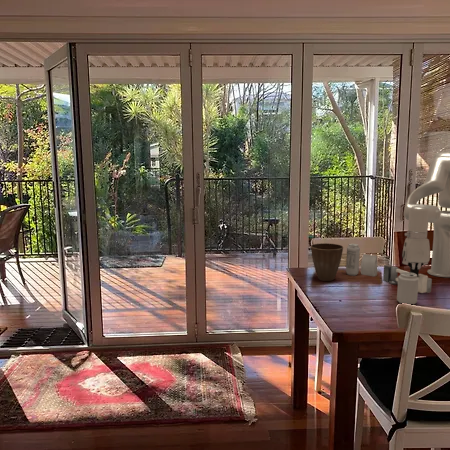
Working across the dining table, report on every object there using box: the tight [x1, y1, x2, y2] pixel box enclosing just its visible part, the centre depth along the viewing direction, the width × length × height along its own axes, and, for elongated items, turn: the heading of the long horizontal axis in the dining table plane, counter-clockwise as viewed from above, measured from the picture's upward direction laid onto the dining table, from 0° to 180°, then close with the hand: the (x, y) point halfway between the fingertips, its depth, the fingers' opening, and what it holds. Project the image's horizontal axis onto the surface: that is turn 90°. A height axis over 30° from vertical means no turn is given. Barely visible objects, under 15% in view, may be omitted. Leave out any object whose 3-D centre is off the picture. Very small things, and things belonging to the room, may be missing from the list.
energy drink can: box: [345, 243, 361, 276], centre depth 212 cm, size 6×6×15 cm
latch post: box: [425, 277, 433, 294], centre depth 185 cm, size 2×2×6 cm
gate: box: [391, 266, 429, 294], centre depth 191 cm, size 3×18×7 cm, turn 26°
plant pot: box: [310, 242, 344, 282], centre depth 204 cm, size 15×15×16 cm
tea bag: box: [360, 253, 378, 277], centre depth 212 cm, size 4×7×10 cm, turn 50°
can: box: [396, 271, 419, 306], centre depth 171 cm, size 8×8×12 cm
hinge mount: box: [382, 264, 398, 286], centre depth 199 cm, size 4×7×8 cm, turn 25°
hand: (413, 277), depth 184 cm, fingers closed
